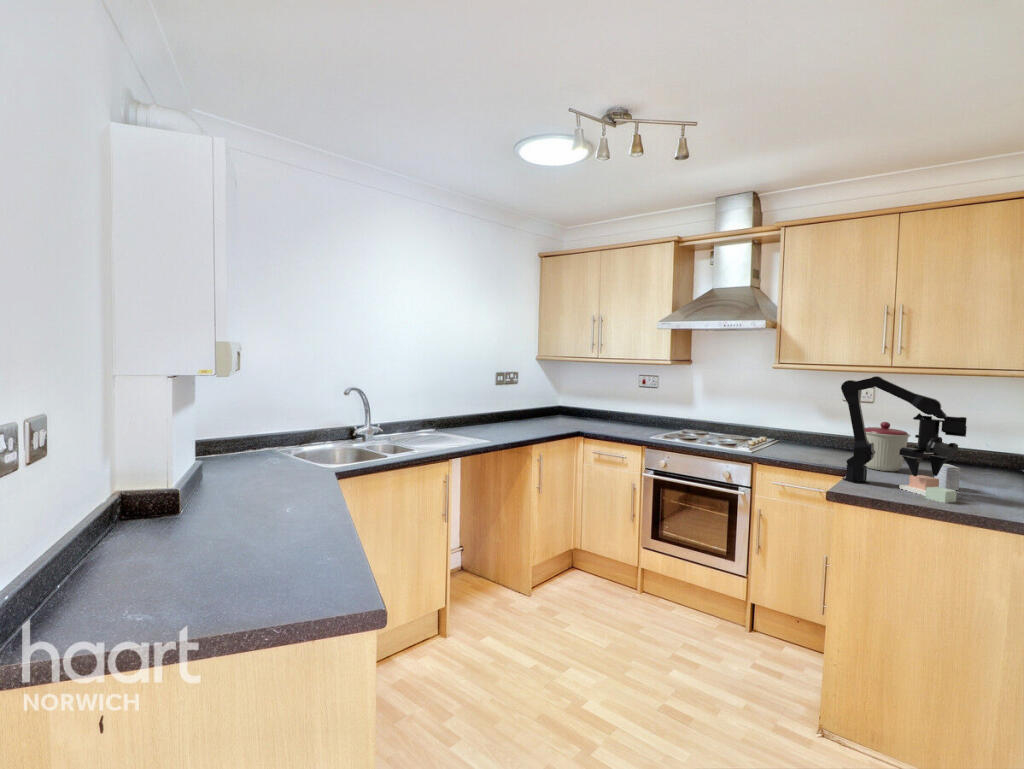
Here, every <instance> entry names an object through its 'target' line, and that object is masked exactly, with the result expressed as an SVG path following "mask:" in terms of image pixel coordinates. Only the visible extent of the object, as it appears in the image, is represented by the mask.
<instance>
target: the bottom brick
mask: <svg viewBox="0 0 1024 769" xmlns="http://www.w3.org/2000/svg"><path fill="white" fill-rule="evenodd" d="M908 480H909V481H908V485H909V486H910V487H914V488H918V489H922V490H926V487H939V479H937V478H934V476H928V475H923V474H921V475H920V474H917V476H913V474H911V475H909V479H908Z"/></svg>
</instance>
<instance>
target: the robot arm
mask: <svg viewBox="0 0 1024 769" xmlns="http://www.w3.org/2000/svg"><path fill="white" fill-rule="evenodd" d="M872 388H877V389H880V390H882V391H883V392H885V393H888V394H891V395H892V396H894V397H897V398H898V399H901V400H903V401H905V402H907V403H908V404H910V405H912V406H913V407H914V408H915V409H917V410H919V411H920V412H922V413H923V414H925V415H923V414H921V413H920V412H918V414H917V415H916V416H914V417H913V418H912V419H913V420H915V421H919V424H918V425H919V426H918V434H915V435H914V436H915V437H914V438H916V439H917V445H914V447H911V446H910V447H907V446H906V447H902V448H901V449H900V450H899V455H903V456H902V457H904V459H903V460H904V461H905V462H906V464H907V466H908V468H909V470H910V472H911V475H913V476H917V475H919V474H918V473H919V468H920V462H922V461H923V460H924V458H923V456H929V460H930V466H931V471H932V475H933V476H932V477H934V476H937V475H938V473H939V471H940V469H941V467H942V466H943V464H946V462H948V461H951V460H952V458H955V456H956V454H958V453H959V444H957V442H956V443H955V442H950V443H945V442H943V438H942V437H941V436H939V433H940V431H941V432H942V433H944V435H945V436H951V437H952V436H953V437H962V438H963V437H965V438H966V437H967V417H966V416H947V413H946V412H944V411H943V409H942V404H941V402H940V401H939V400H938V399H936V398H933V397H929V396H926V395H922V394H918V393H915V392H912V391H911V390H908V389H906V388H904V387H902V386H899V385H898V384H896V383H892V382H890V381H889V380H886V379H884V378H883V377H881V376H878V375H877V376H872V377H869V378H864V379H860V380H853V379H852V380H851V379H849V380H846V381H844V382H843V383H841V385H840V390H841V392H842V394H843V397H844V399H845V401H846V403H847V405H848V410H849V416H850V421H851V422H850V423H851V427H852V434H853V439H854V443H853V456H851V457H849V458H848V459H847V460H846V463H847V464H846V470H845V471H846V472H845V477H842V480H844V479H846V480H845V481H848V482H850V483H854V484H866V483H867V484H870V481H869V480H867V476H868V469H867V468H868V467H867V466H865V465H866V463H868V462H869V461H871V460H872V459H873V457H874V454H875V453H876V452H875V451H874V443H869V442H868V440H867V437H866V431H865V428H866V427H865V421H864V417H863V412H862V404H861V400H862V391H864V390H868V389H872ZM933 416H934V417H935V418H936V419H935V418H933ZM940 423H941V430H940Z"/></svg>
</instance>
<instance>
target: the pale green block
mask: <svg viewBox="0 0 1024 769" xmlns="http://www.w3.org/2000/svg"><path fill="white" fill-rule="evenodd" d="M957 494H958V491H955V490H951V489H946V488H941V487H926V494H925V496H924V498H925V499H926V498H927V499H926V500H930V499H931V501H934V500H935V502H938V501H939V503H942V502H944V503H943V504H949V502H950V503H956V502H957Z"/></svg>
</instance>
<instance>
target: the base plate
mask: <svg viewBox="0 0 1024 769" xmlns="http://www.w3.org/2000/svg"><path fill="white" fill-rule="evenodd" d="M899 488H900V489H899ZM899 488H898V489H899V490H901V489H903V490H902V491H905V490H907V491H906V492H909V491H910V493H913V494H916V493H917V494H916V495H920V494H921V496H924V497H925V494H926V490H922V489H918V488H914V487H910V486H909V484H899Z"/></svg>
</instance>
